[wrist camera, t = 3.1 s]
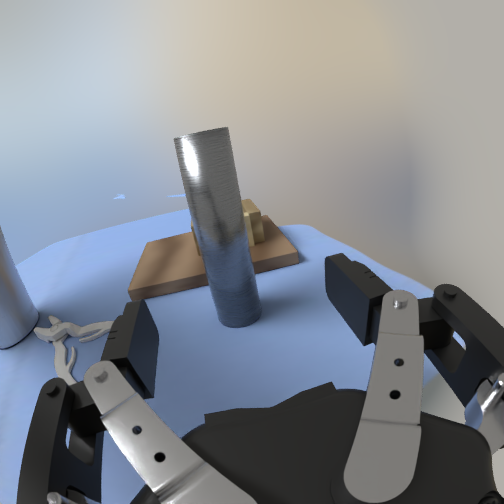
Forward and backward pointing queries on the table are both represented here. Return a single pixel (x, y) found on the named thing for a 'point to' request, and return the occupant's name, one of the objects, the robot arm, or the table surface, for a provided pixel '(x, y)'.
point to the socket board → (190, 262)
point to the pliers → (60, 334)
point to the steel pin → (219, 224)
